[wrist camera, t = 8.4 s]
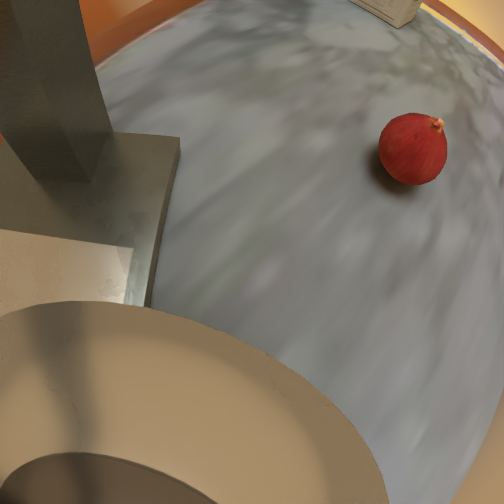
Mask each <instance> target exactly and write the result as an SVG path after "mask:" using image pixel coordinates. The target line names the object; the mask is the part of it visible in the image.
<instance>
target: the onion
mask: <svg viewBox="0 0 504 504" xmlns="http://www.w3.org/2000/svg"><path fill="white" fill-rule="evenodd" d="M444 125H445V123H444V121H443V120H441V119H440V118H434V117H430V116H428V115H423V114H418V113H408V114H404V115H401V116H398V117H396V118H394V119H392V120H391V121H390V122H389V123H388V124H387V125H386V127H385V128H384V129H383V131H382V132H381V136H380V139H379V147H378V148H379V156H380V159H381V163H382V164H383V166H384V167H385V169H386V171H387V172H388V173H389V174H390V175H391V176H392V177H393V178H394V179H396V180H398V181H400V182H402V183H404V184H409V185H421V184H424V183H427V182H430V181H431V180H433V179H435V178H436V177H437V176H438V174H439V173H440V172H441V170H442V168H443V167H444V165H445V163H446V159H447V140H446V137H445V134H444V131H443V129H442V128H443V126H444Z"/></svg>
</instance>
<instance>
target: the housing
mask: <svg viewBox="0 0 504 504" xmlns="http://www.w3.org/2000/svg"><path fill="white" fill-rule="evenodd" d="M0 504H389V499H388V495H387V492H386V488H385V484H384V480H383V477H382V474H381V472H380V470H379V468H378V465H377V463H376V461H375V459H374V457H373V455H372V453H371V451H370V449H369V448H368V446H367V445H366V443H365V442H364V440H363V439H362V437H361V436H360V434H359V433H358V432H357V430H356V429H355V427H354V426H353V424H352V423H351V422H350V421H349V420H348V419H347V418H346V417H345V416H344V415H343V414H342V413H341V412H340V410H339V409H338V408H337V407H336V406H335V405H334V404H333V403H332V402H331V401H330V400H329V399H328V398H327V397H326V396H325V395H323V394H322V393H321V392H320V391H318V390H317V389H316V388H315V387H314V386H312V385H311V384H310V383H309V382H308V381H306V380H305V379H304V378H303V377H302V376H300V375H299V374H297V373H296V372H294V371H293V370H291V369H290V368H288V367H286V366H285V365H283V364H282V363H280V362H279V361H277V360H276V359H274V358H273V357H271V356H270V355H268V354H267V353H265V352H263V351H261V350H259V349H257V348H255V347H253V346H251V345H249V344H247V343H245V342H243V341H241V340H239V339H237V338H235V337H233V336H231V335H229V334H227V333H225V332H222V331H219V330H217V329H214V328H211V327H209V326H206V325H203V324H201V323H198V322H196V321H193V320H190V319H188V318H185V317H181V316H177V315H173V314H169V313H165V312H162V311H158V310H154V309H151V308H147V307H141V306H134V305H127V304H120V303H114V302H107V301H63V302H54V303H46V304H37V305H34V306H30V307H27V308H23V309H20V310H16V311H13V312H9V313H7V314H5V315H3V316H1V317H0Z"/></svg>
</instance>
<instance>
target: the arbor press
mask: <svg viewBox="0 0 504 504" xmlns="http://www.w3.org/2000/svg"><path fill="white" fill-rule="evenodd" d="M0 133H1V134H2V135H3V137H4V140H3V142H2V144H1V146H0V317H1V316H3V315H5V314H7V313H9V312H13V311H16V310H20V309H23V308H27V307H30V306H34V305H37V304H46V303H54V302H63V301H107V302H114V303H120V304H127V305H134V306H141V307H147V308H150V302H151V295H152V289H153V283H154V277H155V271H156V265H157V260H158V254H159V249H160V243H161V238H162V233H163V228H164V223H165V218H166V214H167V209H168V204H169V200H170V195H171V191H172V186H173V182H174V178H175V174H176V169H177V165H178V161H179V157H180V138H179V137H171V136H160V135H148V134H134V133H118V132H113V130H112V127H111V124H110V120H109V117H108V114H107V111H106V107H105V104H104V101H103V97H102V94H101V90H100V87H99V83H98V79H97V76H96V72H95V68H94V65H93V61H92V57H91V53H90V49H89V45H88V41H87V37H86V32H85V28H84V24H83V19H82V15H81V10H80V5H79V0H0Z"/></svg>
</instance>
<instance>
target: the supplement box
mask: <svg viewBox="0 0 504 504" xmlns="http://www.w3.org/2000/svg"><path fill="white" fill-rule="evenodd" d="M349 1H351V2H353V3H355V4H357V5H358V6H360V7H362V8H364V9H366V10H367V11H369V12H371V13H373V14H374V15H376V16H378V17H379V18H381V19H383V20H384V21H386V22H388V23H389V24H391V25H392V26H394V27H396V28H397V29H398V28H400V27H401V26H403V25H404V24H406V23H408V22H409V21H411V20H412V19H413V18H414V16H415V14H416V12H417V10H418V8H419V7H420V5H421V3H422V1H423V0H349Z"/></svg>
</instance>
